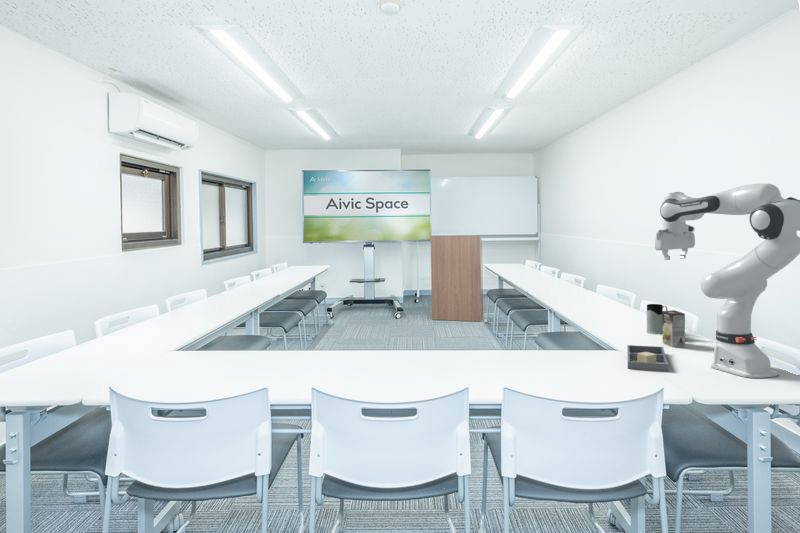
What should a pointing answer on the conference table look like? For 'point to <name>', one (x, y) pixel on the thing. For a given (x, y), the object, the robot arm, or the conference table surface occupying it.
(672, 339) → the coffee box
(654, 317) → the grey mug
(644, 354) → the sandstone block
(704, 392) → the conference table surface
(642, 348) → the divided bin
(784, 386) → the conference table surface
